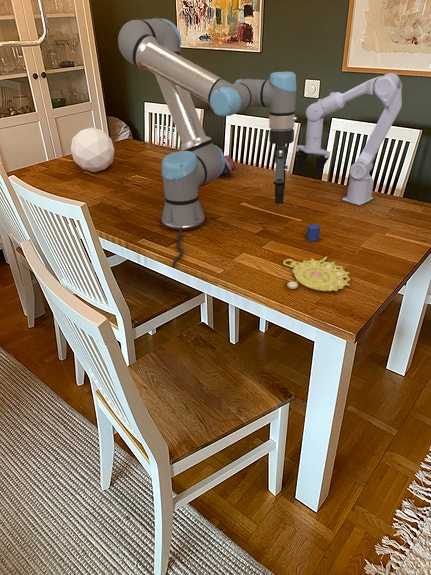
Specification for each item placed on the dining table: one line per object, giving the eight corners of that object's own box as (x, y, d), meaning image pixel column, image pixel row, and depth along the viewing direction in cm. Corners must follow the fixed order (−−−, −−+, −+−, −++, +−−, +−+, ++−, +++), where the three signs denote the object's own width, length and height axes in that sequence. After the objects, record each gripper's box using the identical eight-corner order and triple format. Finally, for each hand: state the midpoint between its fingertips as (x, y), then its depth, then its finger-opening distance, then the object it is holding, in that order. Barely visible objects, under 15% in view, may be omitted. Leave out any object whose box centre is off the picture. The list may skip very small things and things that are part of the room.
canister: (306, 236, 144) (307, 223, 142) (318, 236, 144) (319, 223, 141) (307, 241, 141) (308, 228, 138) (319, 241, 141) (320, 228, 138)
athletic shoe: (215, 150, 209) (192, 156, 205) (235, 143, 189) (210, 149, 185) (221, 174, 212) (199, 180, 208) (241, 169, 192) (217, 176, 188)
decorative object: (332, 298, 110) (265, 270, 120) (331, 306, 111) (265, 278, 122) (367, 265, 123) (304, 242, 133) (365, 272, 125) (303, 249, 135)
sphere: (101, 187, 208) (88, 161, 190) (70, 166, 213) (54, 139, 194) (127, 159, 213) (117, 131, 194) (96, 140, 218) (83, 111, 199)
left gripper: (293, 138, 123) (290, 210, 134) (295, 119, 144) (292, 183, 155) (266, 138, 124) (265, 210, 135) (271, 120, 145) (270, 183, 156)
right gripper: (291, 135, 168) (289, 171, 175) (323, 142, 159) (319, 179, 166) (303, 132, 172) (300, 166, 179) (335, 138, 163) (330, 174, 170)
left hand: (280, 196), depth 145 cm, fingers open, 13 cm apart
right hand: (310, 172), depth 173 cm, fingers open, 7 cm apart
